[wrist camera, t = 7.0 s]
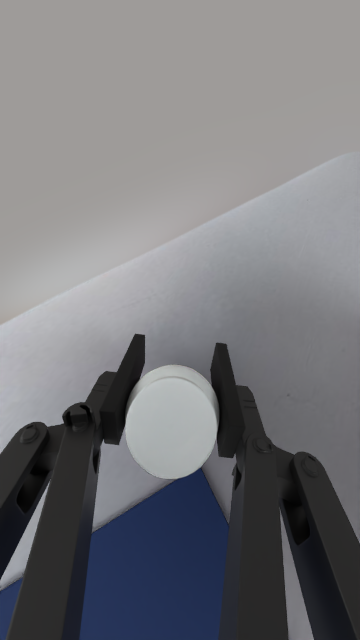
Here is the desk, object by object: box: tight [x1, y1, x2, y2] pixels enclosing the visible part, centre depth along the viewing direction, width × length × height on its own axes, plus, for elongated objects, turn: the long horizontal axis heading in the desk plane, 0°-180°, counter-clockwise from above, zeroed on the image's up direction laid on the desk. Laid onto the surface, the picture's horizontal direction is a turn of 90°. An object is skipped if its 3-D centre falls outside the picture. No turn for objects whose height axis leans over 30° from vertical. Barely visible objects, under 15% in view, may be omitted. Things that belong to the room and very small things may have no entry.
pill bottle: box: [125, 365, 220, 479], centre depth 13 cm, size 5×5×10 cm
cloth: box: [0, 467, 229, 640], centre depth 14 cm, size 17×13×1 cm
